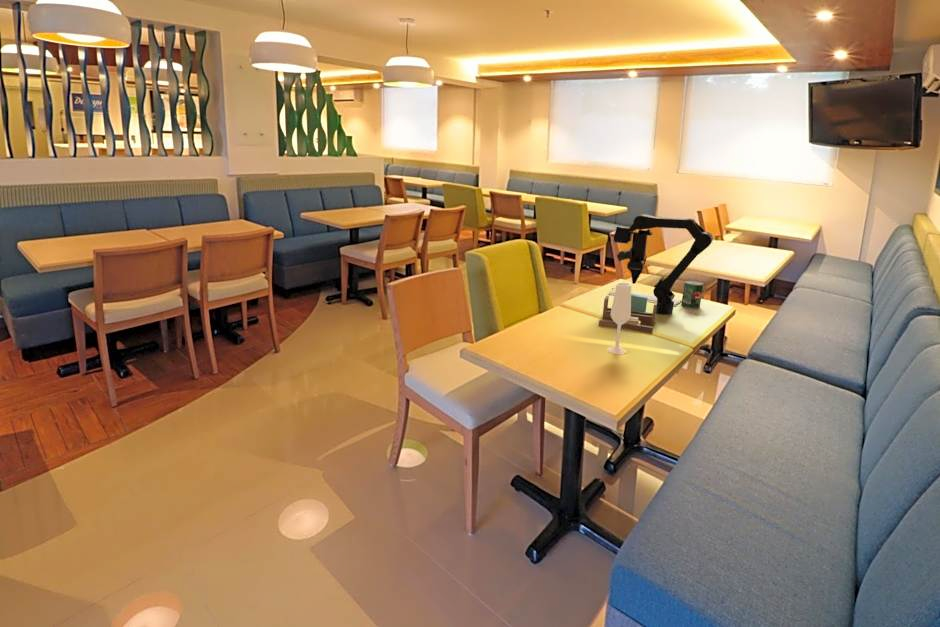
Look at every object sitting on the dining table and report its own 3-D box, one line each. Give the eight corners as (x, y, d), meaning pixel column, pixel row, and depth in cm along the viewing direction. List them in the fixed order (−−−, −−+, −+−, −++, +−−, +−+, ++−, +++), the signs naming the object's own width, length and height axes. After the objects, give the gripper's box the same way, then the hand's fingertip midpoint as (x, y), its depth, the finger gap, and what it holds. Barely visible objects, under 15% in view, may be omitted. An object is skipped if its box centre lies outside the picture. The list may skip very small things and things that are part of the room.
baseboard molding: (673, 308, 240) (681, 303, 249) (674, 302, 239) (681, 297, 248) (607, 296, 256) (616, 291, 266) (607, 290, 256) (616, 285, 265)
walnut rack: (604, 315, 226) (607, 294, 223) (654, 321, 219) (657, 300, 217) (598, 328, 210) (600, 305, 207) (651, 335, 203) (654, 312, 201)
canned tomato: (682, 302, 247) (685, 279, 244) (700, 305, 244) (704, 281, 240) (680, 307, 240) (683, 283, 237) (699, 309, 237) (703, 285, 234)
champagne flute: (630, 352, 187) (638, 285, 179) (616, 355, 183) (624, 287, 176) (615, 346, 192) (623, 280, 185) (602, 349, 189) (609, 283, 181)
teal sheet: (615, 313, 229) (617, 293, 227) (644, 317, 225) (647, 296, 223) (614, 314, 228) (617, 294, 225) (644, 318, 224) (647, 297, 221)
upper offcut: (616, 318, 213) (616, 315, 213) (637, 320, 211) (638, 317, 211) (616, 322, 208) (616, 319, 208) (638, 324, 207) (638, 321, 206)
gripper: (621, 239, 237) (618, 274, 241) (616, 246, 220) (612, 284, 225) (648, 242, 233) (644, 277, 237) (645, 249, 216) (640, 287, 221)
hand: (634, 281), depth 230 cm, fingers open, 9 cm apart
